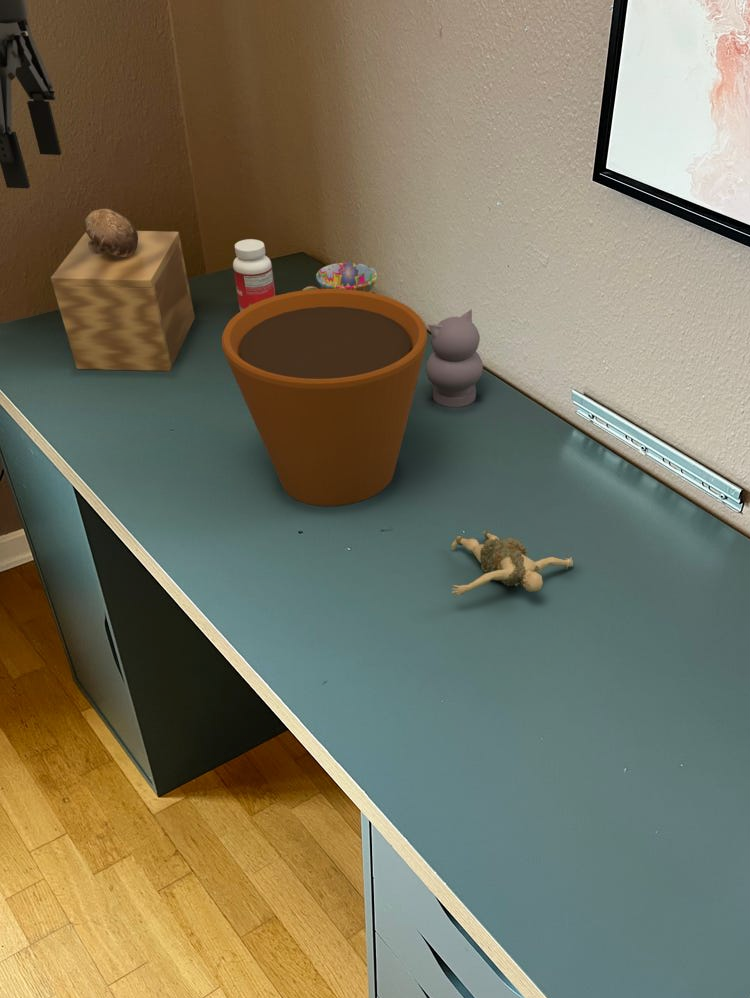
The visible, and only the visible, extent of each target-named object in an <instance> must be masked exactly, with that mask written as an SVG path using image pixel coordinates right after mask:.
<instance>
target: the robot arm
mask: <svg viewBox="0 0 750 998" xmlns="http://www.w3.org/2000/svg"><path fill="white" fill-rule="evenodd" d="M28 16H29V11H28V5H27V2H26V0H0V168H1V171H2V175H3V178H4V181H5V186H6V188H7V189H30V188H31V185H30V180H29V177H28V172H27V169H26V166H25V160H24V158H23V153H22V150H21V146H20V142H19V139H18V134H17V132H16V131H12V129H13V128H12V127H13V124H12V122H13V121H12V120H13V119H12V118H13V117H12V115H13V113H12V110H13V109H12V81H13V80H14V79H16V80H17V81H18V82H19V84H20V85H21V87H22V89H23V90H24V92H25V93H26V95H27V97H28V98H29V99H30V100H28V101H27V102H26V103H27V107H28V111H29V115H30V119H31V124H32V127H33V131H34V135H35V139H36V143H37V147H38V151H39V154H40V155H47V156H48V155H50V156H61V155H62V149H61V145H60V141H59V136H58V132H57V128H56V124H55V120H54V116H53V111H52V107H51V103H50V101H56V92H55V90H53V89H54V87H53V83H52V81H51V78H50V76H49V74H48V71H47V68H46V65H45V64H44V62H43V59H42V57H41V54H40V52H39V50H38V49H39V48H38V47H37V45H36V42H35V40H34V37H33V35H32V31H31V28H30V24H29V21H28Z"/></svg>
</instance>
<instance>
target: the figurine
mask: <svg viewBox="0 0 750 998" xmlns="http://www.w3.org/2000/svg"><path fill="white" fill-rule="evenodd" d="M482 533H483V536H484V538H485V539H486V540H485V541H484V542H483V543H482V544H481V543H479V541H478V540H477V539H476V538H468V539H467V538H465V536H460V535H458V536H456V538H455V539H454V540H453V542H452V543H451V546H450V547H451V549H452V550H455V549H456V548H457V546H464V547H465V549H467V550H468V551H469V552H472V553H473V555H474V556H475V557H476V559H477V561H478V562H479V563H480V568H481V571H483V572H484V574H482V575H480V576H479V577H478V578H477V579H474V580H473V581H472V582H470V583H468V584H462V585H456V584H454V585H453V586H452V587H454V588H451V590H452V591H451V593H452V594H453V596H460V595H461V596H462V595H464V594H466V593H468V592H470V591H471V590H473V589H475V588H478V587H481V586H484V585H486V584H488V583H489V582H490V581H499V582H500V583H502V584H503V585H506V586H507V587H509V586H516V587H518V585H521V587H523V588H525V590H526V591H527V592H529V593H532V592H538V591H540V590H541V589H542V588H543V584H544V580H543V576H542V575H541V574H539V573H540V572H541V571H543V570H544V569H546V568H547V567H548V566H552V567H563V566H564V568H565V570H566V571H567V570H568V568H569V567H574V562H573V560H574V559H573V558H572V556H570V557H569V558H566V557H565V558H564V559H561V558H558V557H553V556H549V557H546V558H542V559H538V560H537V561H534V560H533V559H531V558H529V557H528V555H527V554H528V553H527V550H528V547H526V546H524V545H523V542H522V541H521V540H518V538H516V539H515V538H512V537H508V538H505V539H500V538H499V537H498V536H497V535H494V534H492V533H491V531H490V530H484V531H483V532H482Z"/></svg>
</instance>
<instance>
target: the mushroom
mask: <svg viewBox="0 0 750 998" xmlns="http://www.w3.org/2000/svg"><path fill="white" fill-rule="evenodd" d="M84 231H85V232H86V233H87V234H88V236H89V238H90V239H91V240H90V241H89V242H88V246H89V249H90V250H91V251H92V252H94V253H96V254H106V253H108V252H110V253H112V254H114V255H116V256H121V257H128V256H131V255H133V253H134V252H135V250H136V249H137V245H138V233H137V231H138V230H137V229H136V228H135V227H134V225H133V224H132V222H131V221H130V220H129V219H128V218H126V217H125V216H124V215H122V214H121V213H120V212H117V211H114V210H112V209H110V208H101V209H95V210H92V211H91V212H90V213H89V214H88V215H87V216H86V217H85V219H84Z"/></svg>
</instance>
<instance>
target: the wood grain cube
mask: <svg viewBox="0 0 750 998" xmlns="http://www.w3.org/2000/svg"><path fill="white" fill-rule="evenodd" d="M136 231H137V233H138V245H137V249H136V250H135V252H134V253H133V255H131V256H128V257H121V256H116V255H114V254H112V253H110V252H108V253H106V254H96V253H94V252H92V251H91V250H90V249H89V246H88V242H89V241H90V240H91V239H90V238H89V236H88V234H87V233H86V231H85V232H84V234H83V235H82V236H81V238H80V239H79V240H78V242H77V243H76V244H75V245H74V247H73V248H72V249H71V251H70V252H69V253H68V254H67V256H66V257H65V258H64V260H63V261H62V262H61V264H60V265H59V266H58V268H57V269H56V270H55V272H54V273H53V274H52V275H51V276H50V280H51V284H52V287H53V291H54V294H55V295H54V296H55V298H56V302H57V305H58V309H59V312H60V316H61V318H62V323H63V325H64V329H65V332H66V336H67V339H68V343H69V346H70V351H71V354H72V356H73V360H74V364H75V367H76V370H103V371H105V370H106V371H111V370H112V371H154V372H155V371H157V372H170V371H171V370H172V368H173V367H174V363H175V362H176V359H177V357H178V355H179V353H180V351H181V349H182V347H183V344H184V342H185V341H186V339H187V336H188V334H189V331H190V329H191V327H192V325H193V323H194V321H195V319H196V316H195V311H194V305H193V300H192V296H191V289H190V284H189V280H188V273H187V268H186V264H185V263H186V262H185V258H184V252H183V247H182V242H181V237H180V233H179V231H163V230H162V231H161V230H136Z"/></svg>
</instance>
